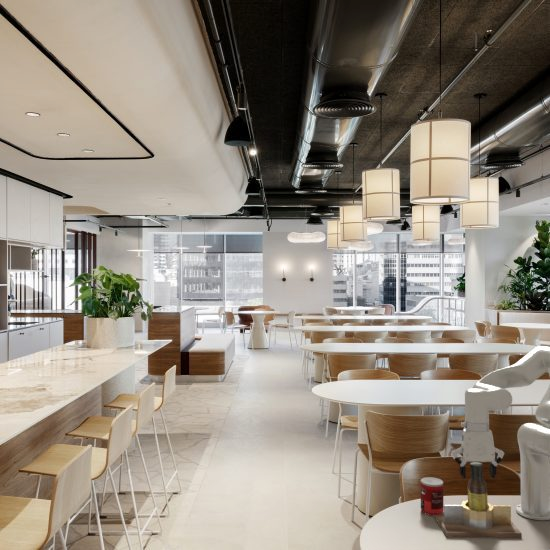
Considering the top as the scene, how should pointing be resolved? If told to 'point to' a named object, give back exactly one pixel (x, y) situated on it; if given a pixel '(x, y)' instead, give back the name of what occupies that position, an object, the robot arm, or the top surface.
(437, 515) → the walnut board
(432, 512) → the canned food
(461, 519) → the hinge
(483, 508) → the sauce bottle
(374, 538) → the top surface
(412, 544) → the top surface
